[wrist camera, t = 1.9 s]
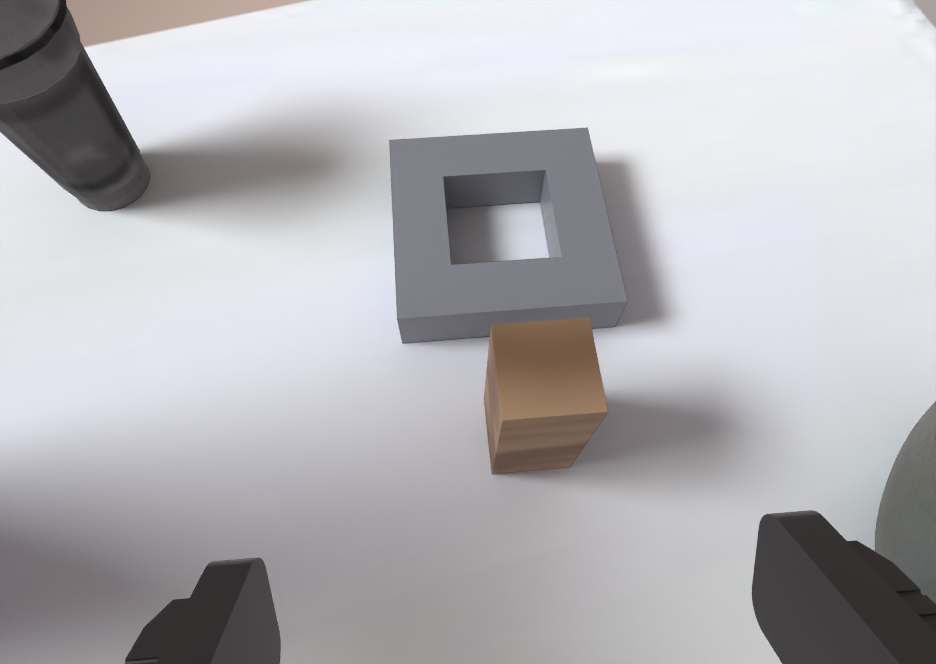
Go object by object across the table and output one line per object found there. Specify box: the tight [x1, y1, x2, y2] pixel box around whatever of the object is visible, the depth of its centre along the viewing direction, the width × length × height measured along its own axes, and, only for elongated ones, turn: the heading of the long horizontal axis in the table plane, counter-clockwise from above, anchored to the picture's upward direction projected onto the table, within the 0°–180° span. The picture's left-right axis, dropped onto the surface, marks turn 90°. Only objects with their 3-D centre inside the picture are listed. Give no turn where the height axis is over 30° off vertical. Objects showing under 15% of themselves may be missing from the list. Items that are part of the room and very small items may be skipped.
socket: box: [389, 128, 628, 343], centre depth 35 cm, size 12×12×3 cm
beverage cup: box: [0, 0, 150, 211], centre depth 30 cm, size 7×7×20 cm
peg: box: [484, 317, 608, 474], centre depth 28 cm, size 4×4×9 cm
